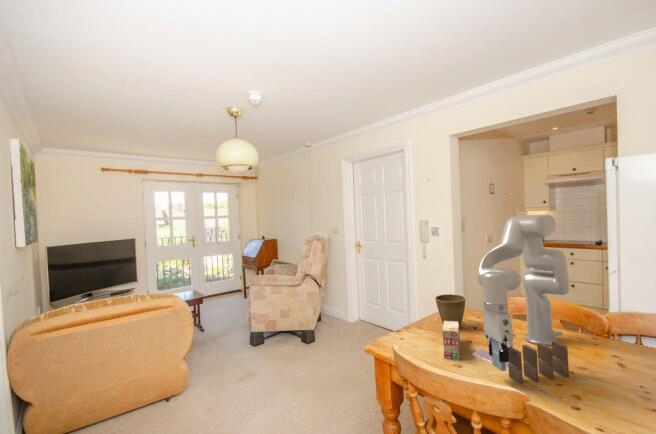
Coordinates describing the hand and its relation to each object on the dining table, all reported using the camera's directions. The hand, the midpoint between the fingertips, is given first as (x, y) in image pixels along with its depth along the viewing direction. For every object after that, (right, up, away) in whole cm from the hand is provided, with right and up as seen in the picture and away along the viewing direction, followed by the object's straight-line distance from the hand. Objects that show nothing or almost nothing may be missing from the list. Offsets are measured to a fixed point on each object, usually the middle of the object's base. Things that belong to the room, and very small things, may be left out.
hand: (498, 357), depth 113 cm
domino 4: (+18, -8, +2) cm, 20 cm away
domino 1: (0, -3, 0) cm, 3 cm away
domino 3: (+13, -8, +2) cm, 15 cm away
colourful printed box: (-5, -10, +29) cm, 31 cm away
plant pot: (+5, -9, +55) cm, 56 cm away
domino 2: (+7, -8, +1) cm, 11 cm away
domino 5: (+24, -7, +3) cm, 26 cm away
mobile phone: (+8, -9, +18) cm, 22 cm away
